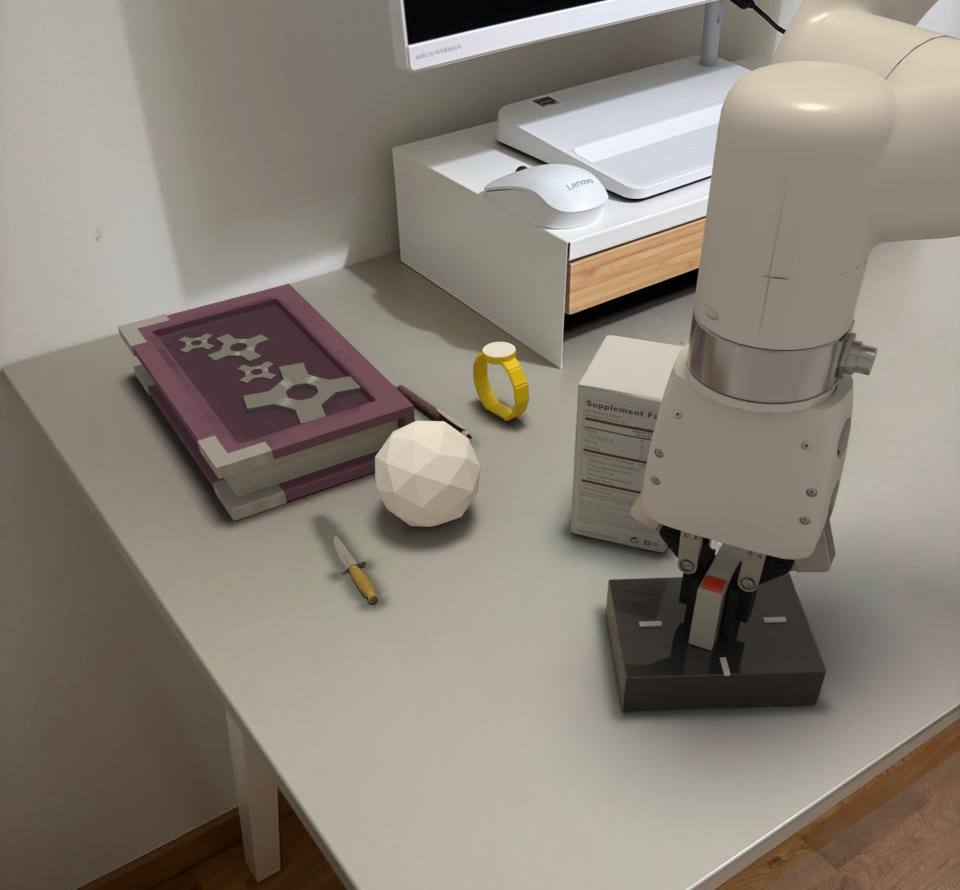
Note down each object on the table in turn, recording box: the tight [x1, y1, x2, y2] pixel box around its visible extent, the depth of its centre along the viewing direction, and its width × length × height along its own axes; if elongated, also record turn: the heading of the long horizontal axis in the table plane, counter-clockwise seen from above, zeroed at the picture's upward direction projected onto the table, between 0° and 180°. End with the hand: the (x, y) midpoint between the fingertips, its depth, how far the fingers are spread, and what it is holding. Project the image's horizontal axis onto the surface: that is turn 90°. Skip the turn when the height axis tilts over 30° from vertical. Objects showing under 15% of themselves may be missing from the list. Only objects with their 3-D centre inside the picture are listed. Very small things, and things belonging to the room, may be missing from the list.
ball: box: [374, 420, 481, 528], centre depth 75 cm, size 8×8×8 cm
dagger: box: [333, 535, 379, 604], centre depth 74 cm, size 11×1×2 cm
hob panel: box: [605, 573, 827, 712], centre depth 65 cm, size 12×9×3 cm
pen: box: [393, 383, 473, 440], centre depth 87 cm, size 11×1×1 cm, turn 38°
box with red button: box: [688, 542, 745, 650], centre depth 62 cm, size 5×2×5 cm, turn 153°
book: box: [117, 283, 416, 522], centre depth 86 cm, size 25×16×5 cm, turn 30°
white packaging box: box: [570, 334, 685, 554], centre depth 72 cm, size 7×7×13 cm
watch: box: [472, 341, 530, 422], centre depth 85 cm, size 6×3×6 cm, turn 38°
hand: (713, 616), depth 63 cm, fingers closed
